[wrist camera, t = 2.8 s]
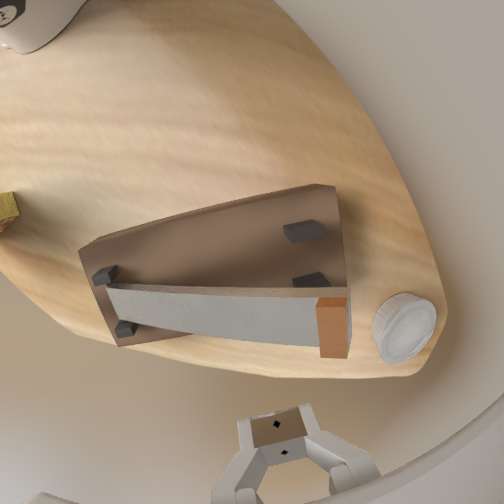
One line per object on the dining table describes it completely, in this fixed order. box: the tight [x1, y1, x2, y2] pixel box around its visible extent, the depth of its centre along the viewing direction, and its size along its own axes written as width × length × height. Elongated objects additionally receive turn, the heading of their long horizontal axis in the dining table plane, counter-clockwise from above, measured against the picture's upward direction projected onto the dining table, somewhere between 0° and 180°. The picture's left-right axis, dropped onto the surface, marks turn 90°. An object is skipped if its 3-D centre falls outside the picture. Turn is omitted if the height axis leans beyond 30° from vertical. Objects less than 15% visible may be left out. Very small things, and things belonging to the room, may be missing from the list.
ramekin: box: [371, 293, 437, 364], centre depth 36 cm, size 11×11×5 cm
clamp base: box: [78, 184, 347, 347], centre depth 28 cm, size 12×27×9 cm, turn 102°
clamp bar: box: [104, 280, 352, 359], centre depth 20 cm, size 4×23×2 cm
